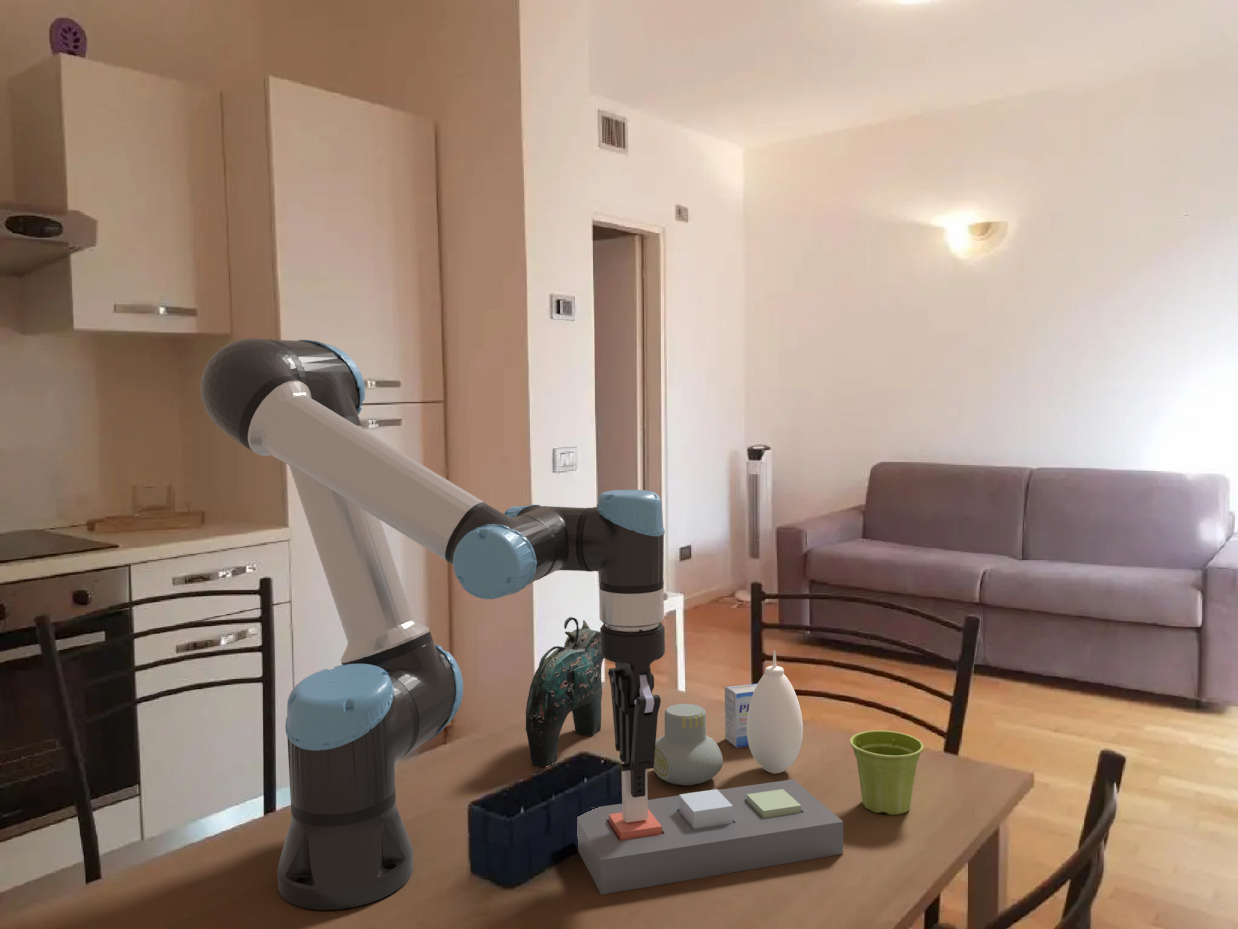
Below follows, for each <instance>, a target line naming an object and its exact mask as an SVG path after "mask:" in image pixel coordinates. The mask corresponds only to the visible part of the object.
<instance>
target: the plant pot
mask: <svg viewBox="0 0 1238 929" xmlns="http://www.w3.org/2000/svg"><path fill="white" fill-rule="evenodd" d="M849 745H850V747H851V748H852V749H853V754H854V756H855V758H856V764H857V765H856V766H857V770H858V777H859V784H860V793H861V800H862V802H861V803H862V805H863V806H864V807H865V809H867V810H868V811H871V812H874V813H877V814H880V813H886V814H888V815H901V814H904V813H906V812H908V811H909V810H910V808H911V803H912V797H913V791H914V783H915V776H916V770H917V764H918V762H919V761H920V757H921V756H920V755H921V753H922V752H923V751H924V749H925V748H924V747H925V746H924V743H923V742H922V741H921V740H920V739H918V738H917V737H914V736H913V735H910V734H906V733H903V732H900V731H899V732H898V731H893V730H868V731H867V730H866V731H862V732H858V733H856V734H854V735H852V736H851V737H850V739H849Z"/></svg>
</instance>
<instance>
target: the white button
mask: <svg viewBox="0 0 1238 929" xmlns="http://www.w3.org/2000/svg"><path fill="white" fill-rule="evenodd" d="M718 790H719V789H716V788H714V789H710V790H702V791H701V790H700V791H694V792H688V793H681V794H678V796H679V814H680V815H681V816H682V817H683V819H684V820H685V821H686V822H687V824H688V825H689V826H690V827H691V828H692V829H699V828H705V827H712V826H718V825H725V824H731V823H733V805H732V804H731V803H730V802H729V801H728V800H727V799H726V798H725V797H724V796H723V795H722V794H721V793H720V792H719V791H718Z"/></svg>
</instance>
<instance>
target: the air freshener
mask: <svg viewBox="0 0 1238 929" xmlns="http://www.w3.org/2000/svg"><path fill="white" fill-rule="evenodd" d="M706 714H707V711H706V710H705V709H704V708H703V707H702V706H701V705H698V704H692V703H677V704H676V703H675V704H672V705H669V706H668V707H666V709H665V710H664V735H661V736H660V737H658V738H656V745H655V758H654V768H652V769H653V771H654V773H655V774H656V775H657V776H658V778H660V779H661V780H663V781H665V782H667V783H669V784H672V785H677V786H678V785H679V786H696V785H699V784H702V783H705V782H707V781H710V780H712V779H713V778H714V777H716V775H718V774H719V772H720V771H721V770H722V768H723V765H724V758H723V754H722V752H721V751H722V750H721V749H720V747H719V745H718V744H717V742H716V741H715V740H714V739H713V738H712V737H710V736H708V735H707V718H706V716H707V715H706Z"/></svg>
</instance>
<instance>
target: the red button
mask: <svg viewBox="0 0 1238 929" xmlns="http://www.w3.org/2000/svg"><path fill="white" fill-rule="evenodd" d="M609 826H610V827H611V829H612V830H613V832H614V834H615V835H616V837H617V838H618V840H619V841H620V840H627V839H633V838H640V837H646V836H653V835H660V834H662V826H661V825H660V823H659V822H658V821H657V819H656V818H655V817H654V815H653V814H652V813H651V811H650V810H649V809H648V820H641V821H635V822H628V823H626V822H625V821H624V819H623V818H622V812H621V813H614V814H609Z"/></svg>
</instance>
